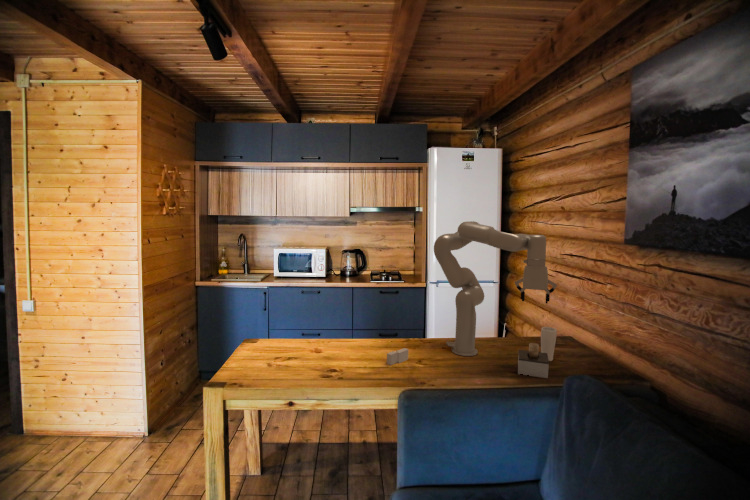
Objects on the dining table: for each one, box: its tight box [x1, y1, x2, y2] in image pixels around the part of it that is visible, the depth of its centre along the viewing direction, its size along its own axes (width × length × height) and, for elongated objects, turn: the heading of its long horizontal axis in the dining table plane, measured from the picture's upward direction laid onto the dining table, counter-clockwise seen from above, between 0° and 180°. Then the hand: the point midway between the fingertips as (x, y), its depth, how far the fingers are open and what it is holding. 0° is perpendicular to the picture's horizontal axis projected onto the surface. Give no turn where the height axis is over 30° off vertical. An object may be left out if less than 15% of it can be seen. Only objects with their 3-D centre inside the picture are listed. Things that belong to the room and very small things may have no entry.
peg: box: [528, 342, 540, 358], centre depth 184 cm, size 4×4×6 cm
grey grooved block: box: [386, 347, 409, 366], centre depth 191 cm, size 15×11×6 cm
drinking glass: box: [540, 326, 558, 362], centre depth 198 cm, size 7×7×15 cm
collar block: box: [517, 349, 550, 379], centre depth 184 cm, size 12×12×7 cm
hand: (534, 301), depth 184 cm, fingers open, 9 cm apart
